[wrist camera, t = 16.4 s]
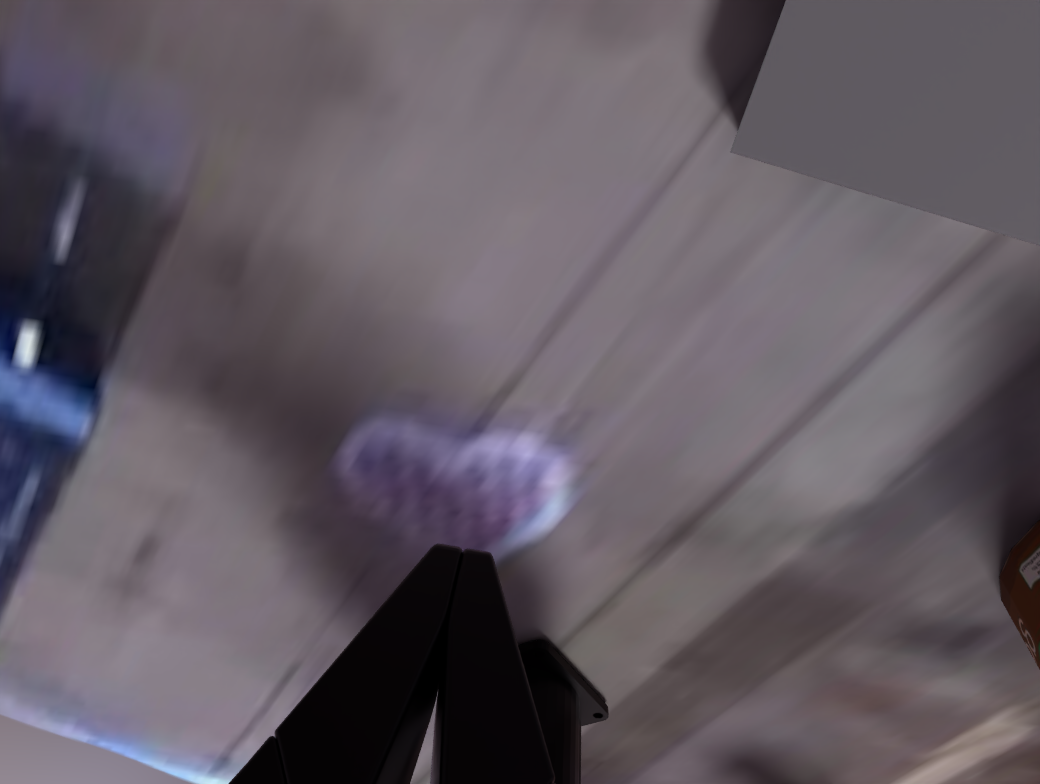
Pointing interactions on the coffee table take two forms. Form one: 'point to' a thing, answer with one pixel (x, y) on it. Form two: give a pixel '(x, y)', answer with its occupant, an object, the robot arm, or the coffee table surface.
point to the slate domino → (908, 105)
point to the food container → (1024, 589)
